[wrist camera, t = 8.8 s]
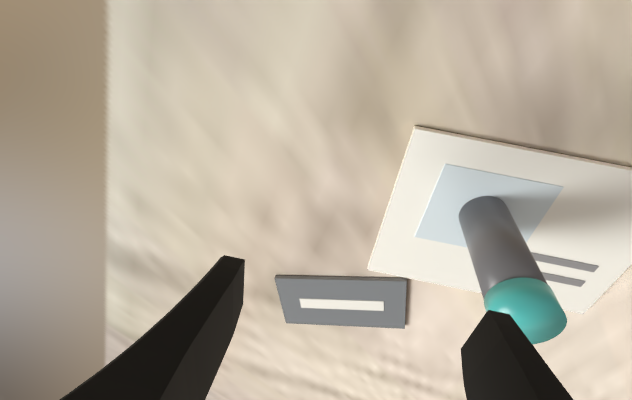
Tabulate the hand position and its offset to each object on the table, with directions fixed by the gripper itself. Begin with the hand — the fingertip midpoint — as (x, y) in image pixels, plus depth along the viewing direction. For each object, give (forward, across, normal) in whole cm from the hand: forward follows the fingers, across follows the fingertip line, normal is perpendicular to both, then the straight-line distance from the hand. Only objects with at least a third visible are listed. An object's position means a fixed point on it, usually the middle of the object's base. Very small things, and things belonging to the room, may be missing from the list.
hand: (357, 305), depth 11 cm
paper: (+10, -9, +3) cm, 14 cm away
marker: (+9, -7, +2) cm, 12 cm away
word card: (+10, -1, +12) cm, 16 cm away
